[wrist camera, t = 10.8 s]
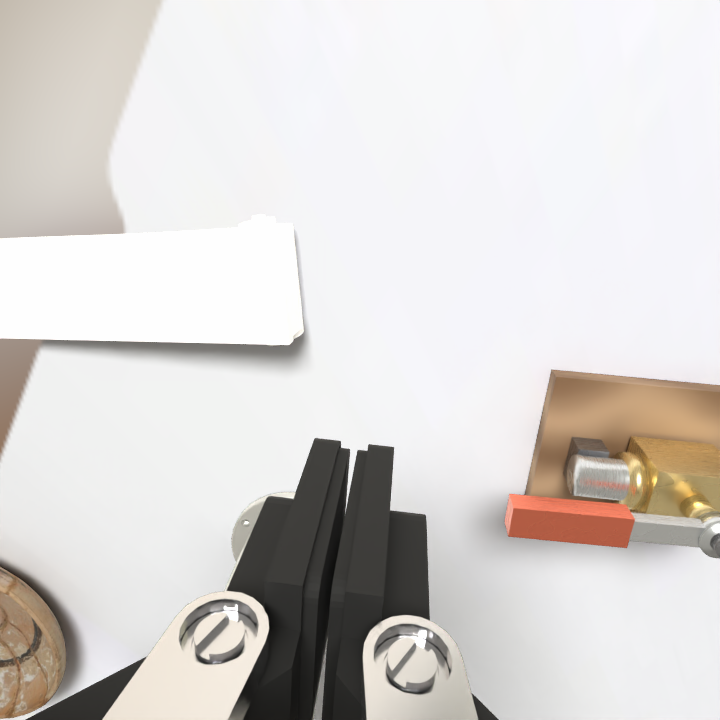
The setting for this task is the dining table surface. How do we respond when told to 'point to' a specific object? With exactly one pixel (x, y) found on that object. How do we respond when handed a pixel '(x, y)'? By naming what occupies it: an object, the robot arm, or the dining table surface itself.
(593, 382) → the base board
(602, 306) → the dining table surface
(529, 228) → the dining table surface
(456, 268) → the dining table surface
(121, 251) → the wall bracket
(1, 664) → the ceramic bowl
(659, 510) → the ball valve
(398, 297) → the dining table surface
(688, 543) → the lever
